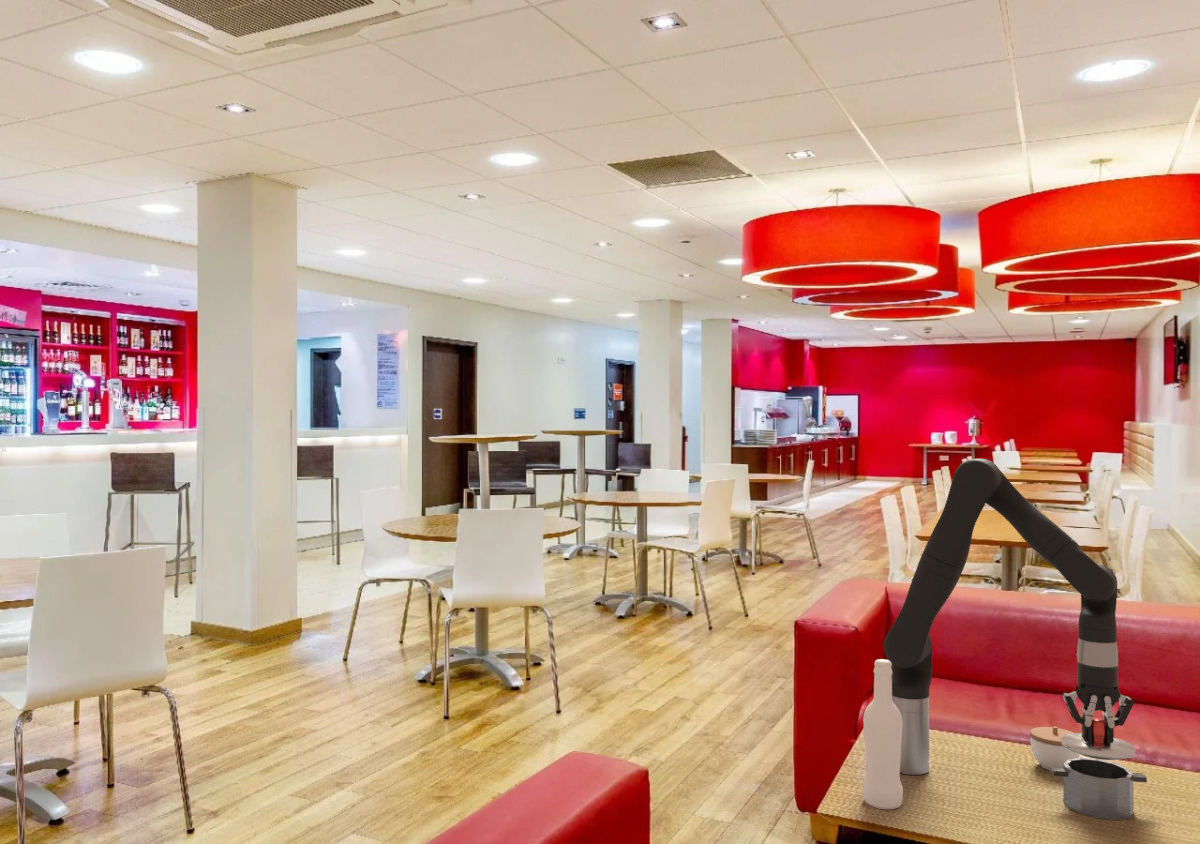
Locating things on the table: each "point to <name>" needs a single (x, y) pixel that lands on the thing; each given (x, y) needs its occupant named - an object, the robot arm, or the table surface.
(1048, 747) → the lidded jar
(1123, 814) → the pot
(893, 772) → the bottle
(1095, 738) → the lid
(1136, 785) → the table surface
